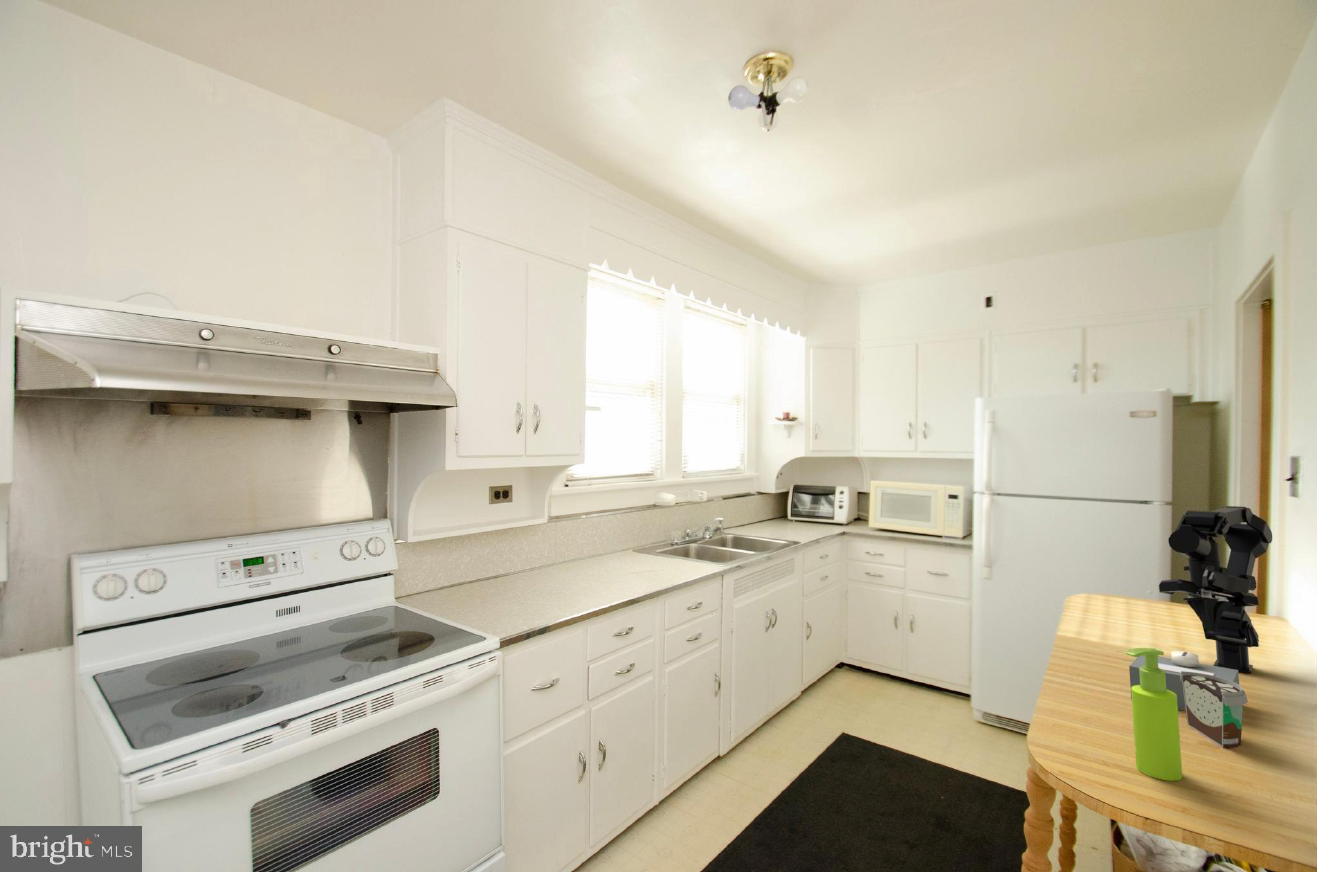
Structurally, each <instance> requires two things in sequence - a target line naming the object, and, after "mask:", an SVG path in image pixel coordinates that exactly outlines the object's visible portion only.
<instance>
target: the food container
mask: <svg viewBox="0 0 1317 872" xmlns="http://www.w3.org/2000/svg"><path fill="white" fill-rule="evenodd" d="M1180 681H1182V685H1183V692H1184V700H1185V707H1186V711H1185V713H1186V721H1187V727H1189V728H1191V729H1193V730H1194V731H1196V732H1198V733H1199V734H1200V735H1202V736H1204V737H1205V738H1207V739H1208V740H1210V741H1211V742H1213V743H1214V744H1216V745H1217V746H1219V747H1220V748H1222V749H1235V748H1239V747H1241V746H1242V734H1243V733H1242V731H1243V730H1242V729H1243V728H1242V727H1243V706H1244V705H1246V704H1248V701H1249V700H1248V697H1247V695H1246V691H1245V690H1244V689H1243V687H1242V686H1241V685H1240V683H1239V684H1237V683H1235V682H1232V681H1230V680H1227V679H1224V678H1220V677H1216V676H1212V675H1207V674H1202V673H1195V672H1185V671H1181V674H1180Z"/></svg>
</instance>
